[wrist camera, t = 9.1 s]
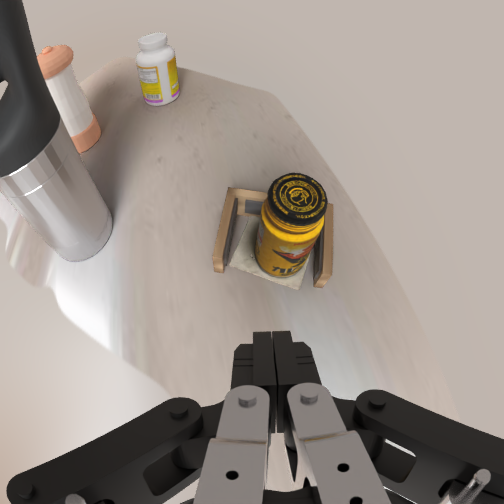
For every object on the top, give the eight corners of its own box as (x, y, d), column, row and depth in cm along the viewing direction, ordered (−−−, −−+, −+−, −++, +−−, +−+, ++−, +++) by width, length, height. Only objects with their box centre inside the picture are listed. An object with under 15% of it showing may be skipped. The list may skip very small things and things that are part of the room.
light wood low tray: (214, 271, 35) (212, 256, 31) (228, 206, 39) (228, 187, 35) (322, 287, 35) (331, 274, 31) (324, 221, 39) (333, 204, 35)
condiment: (298, 291, 35) (327, 240, 24) (228, 266, 35) (226, 206, 25) (315, 238, 38) (343, 176, 27) (250, 216, 39) (257, 147, 28)
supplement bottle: (173, 83, 51) (166, 26, 40) (185, 99, 49) (178, 37, 37) (140, 95, 49) (128, 38, 38) (149, 111, 47) (136, 49, 36)
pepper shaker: (107, 137, 44) (74, 40, 27) (70, 161, 42) (25, 67, 25) (93, 119, 46) (64, 31, 29) (59, 141, 44) (21, 55, 27)
